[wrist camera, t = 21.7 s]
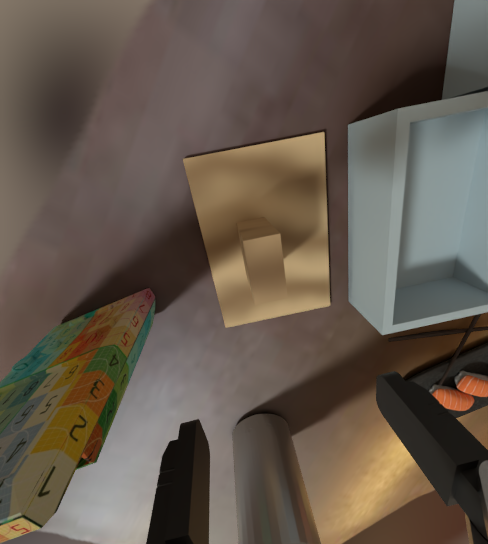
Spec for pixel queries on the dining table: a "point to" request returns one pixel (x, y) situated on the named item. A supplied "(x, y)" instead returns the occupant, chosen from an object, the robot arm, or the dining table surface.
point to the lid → (265, 226)
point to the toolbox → (424, 195)
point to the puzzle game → (64, 407)
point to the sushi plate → (457, 374)
